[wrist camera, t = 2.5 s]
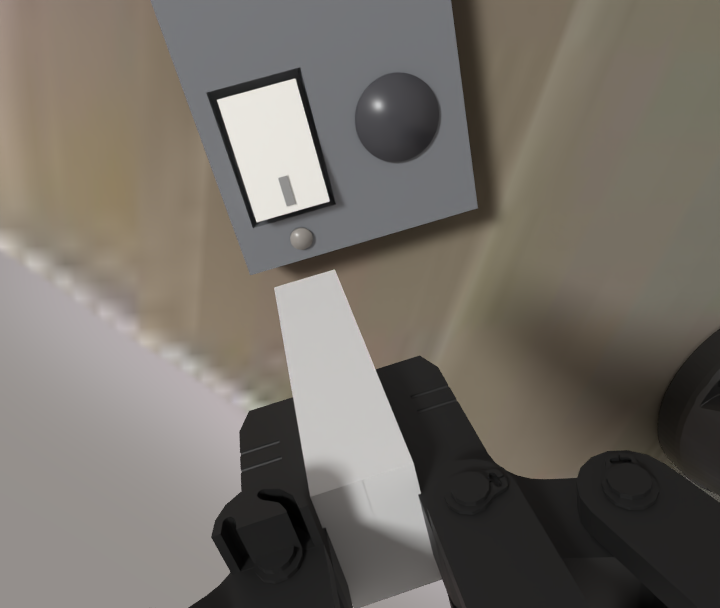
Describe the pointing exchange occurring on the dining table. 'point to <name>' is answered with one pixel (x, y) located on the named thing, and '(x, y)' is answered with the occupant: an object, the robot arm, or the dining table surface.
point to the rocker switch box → (333, 111)
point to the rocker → (274, 149)
